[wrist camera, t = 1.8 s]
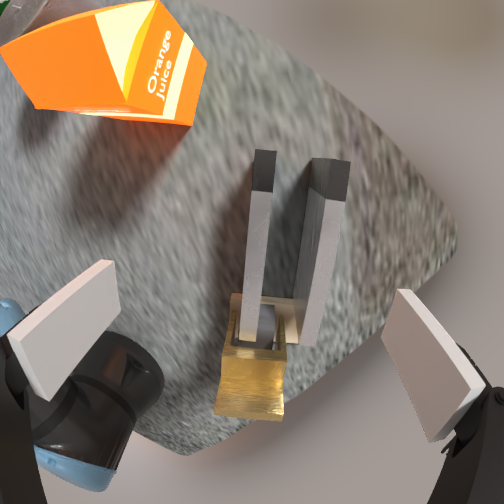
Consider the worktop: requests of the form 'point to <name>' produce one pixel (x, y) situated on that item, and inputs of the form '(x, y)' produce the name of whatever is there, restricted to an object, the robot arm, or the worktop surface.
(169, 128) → the worktop surface
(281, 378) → the lock collar
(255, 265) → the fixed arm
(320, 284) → the tongs arm
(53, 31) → the orange juice
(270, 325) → the stand
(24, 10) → the pillar candle
